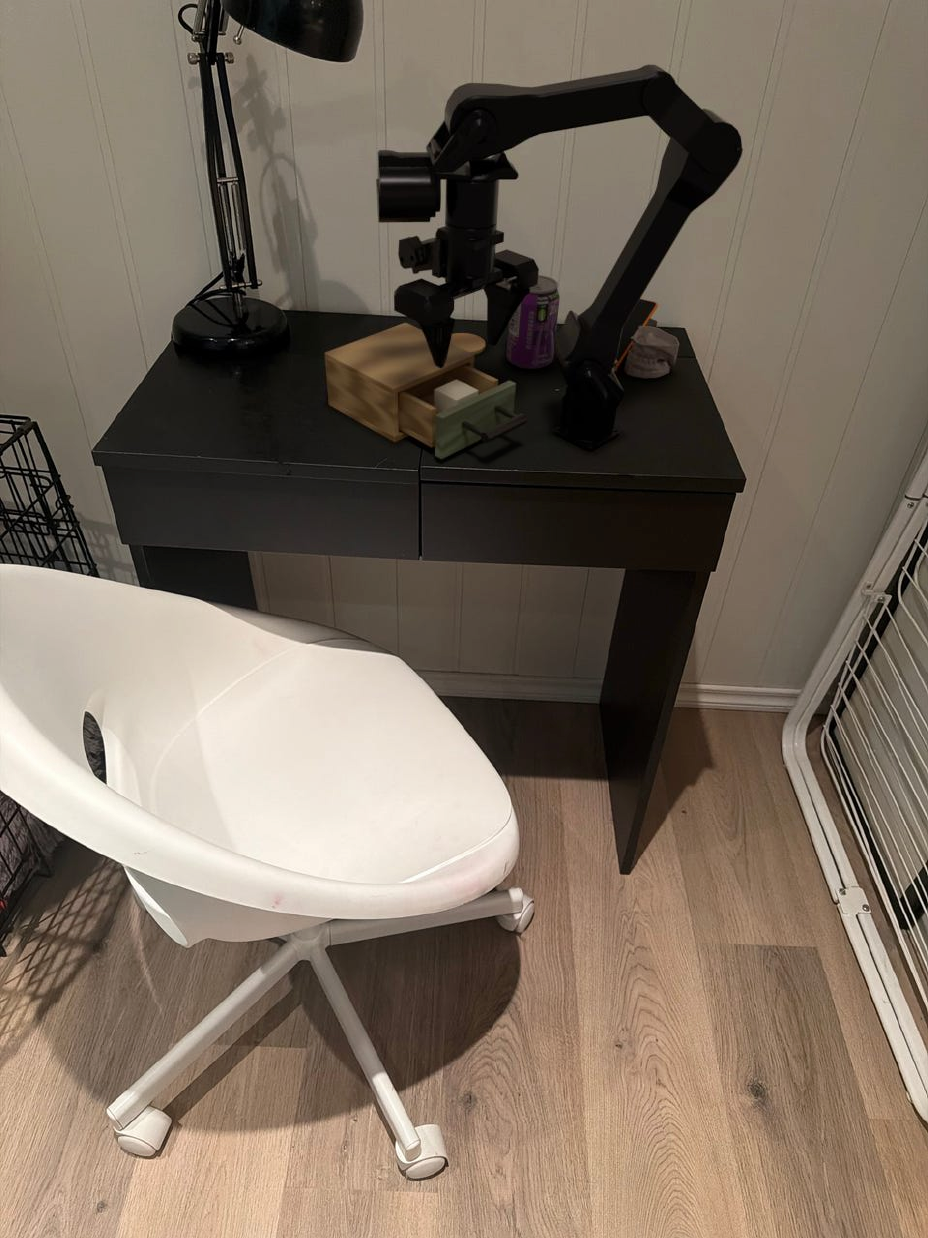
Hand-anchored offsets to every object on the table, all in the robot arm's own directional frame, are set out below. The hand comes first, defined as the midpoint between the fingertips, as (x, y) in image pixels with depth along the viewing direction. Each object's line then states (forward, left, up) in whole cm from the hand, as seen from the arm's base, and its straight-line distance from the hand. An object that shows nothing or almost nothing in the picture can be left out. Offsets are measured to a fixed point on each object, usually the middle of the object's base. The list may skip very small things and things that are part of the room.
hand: (466, 355), depth 103 cm
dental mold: (-5, -35, -6) cm, 36 cm away
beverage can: (+9, -24, -12) cm, 28 cm away
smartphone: (+4, -43, -9) cm, 44 cm away
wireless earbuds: (+3, -42, -12) cm, 44 cm away
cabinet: (+12, 0, -12) cm, 17 cm away
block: (+2, 0, -10) cm, 10 cm away
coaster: (+20, -20, -12) cm, 30 cm away
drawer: (+1, 0, -11) cm, 11 cm away
